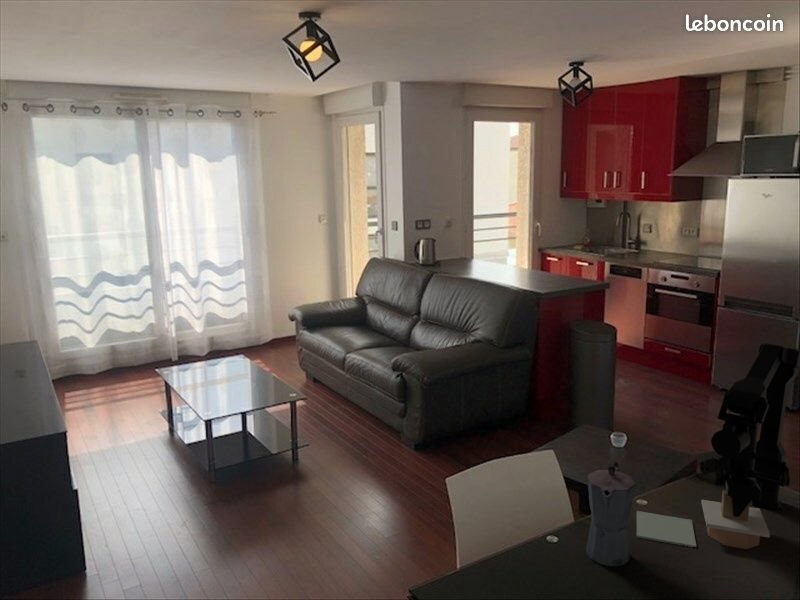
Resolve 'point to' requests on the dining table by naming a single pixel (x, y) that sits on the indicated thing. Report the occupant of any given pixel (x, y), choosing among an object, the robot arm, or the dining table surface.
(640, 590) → the dining table surface
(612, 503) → the moka pot
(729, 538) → the bowl
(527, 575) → the dining table surface
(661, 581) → the dining table surface
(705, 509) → the cover
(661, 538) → the mat
